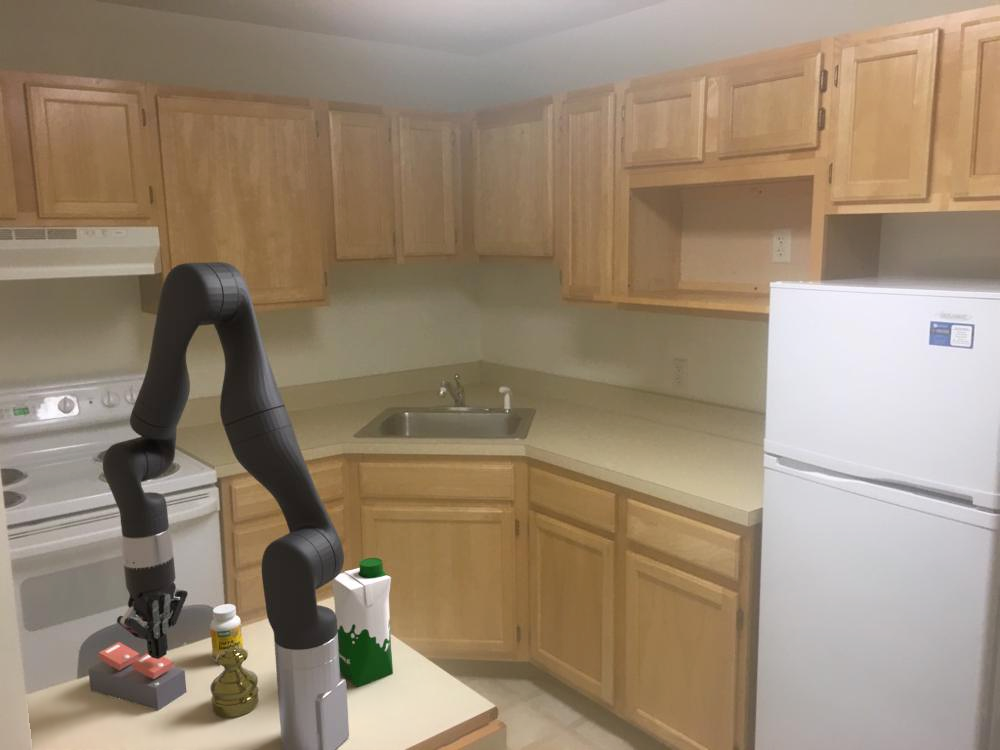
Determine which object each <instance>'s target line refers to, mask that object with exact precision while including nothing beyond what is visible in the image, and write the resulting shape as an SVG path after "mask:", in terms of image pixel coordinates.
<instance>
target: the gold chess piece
mask: <svg viewBox="0 0 1000 750" xmlns="http://www.w3.org/2000/svg"><path fill="white" fill-rule="evenodd" d="M248 652H249V651H248V650H247V649H245V648H244V647H243V648H237V647H230V648H228V649H226V650H224V651H222V652H221V653H219V654H218V655H217V657H216V662H215V663H217V664H218V665H219V666H221V667H223V671H222V672H220V673H219V675H218V676H216V677H215V678H214V679H213V680H212V682H211V684H210V692H211V699H210V700H211V705H212V706H211V707H212V712H213V713H214V715H216V716H217V717H220V718H235V717H236V718H237V717H240V716H243V715H246V714H248V713H250V712H251V711H253V710H254V709H255V708H257V706H258V704H259V703H260V702H259V700H260V699H259V696H260V695H259V690H260V689H259V687H258V676H257V674H256V673H255V672H254V671H252V670H249V669H247V668H246V667H244V666H243V663H244V662H245V661H246V660H247V658H248V656H249V653H248Z"/></svg>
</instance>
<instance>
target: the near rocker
mask: <svg viewBox="0 0 1000 750" xmlns="http://www.w3.org/2000/svg"><path fill="white" fill-rule="evenodd" d="M173 667H174V661H173V660H171V659H169V658H168V657H165V656H163V657H161V658H160V659H156V658H152V657H151V656H149V654H148V652H147V653H145V654H143V655H141V656H139V658H138V659H137V660H135V661H133V662H132V668H133V669H135V670H136V671H138V672H140V673H142V674H143V676H145V677H146V676H148V677H150V678H152V679H155V678H157V677H158V676H160V675H162V674H163V673H165V672H167V671H168V670H170V669H171V668H173Z"/></svg>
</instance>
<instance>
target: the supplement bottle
mask: <svg viewBox="0 0 1000 750" xmlns="http://www.w3.org/2000/svg"><path fill="white" fill-rule="evenodd" d="M212 618H213V619H212V621H210V625H209V626H210V638H211V647H212V649H211V651H212V658H213V661H214V662H215V663H217V662H216V657H217V655H218V654H219V653H221V652H222V651H224V650H226V649H228V648H230V647H237V648H243V649H244V643H243V633H242V631H243V630H242V621H241V618H240V616H238V615H237V607H236V606H235V604H231V603H226V604H219V605H218V606H216V607H214V608H213V609H212Z"/></svg>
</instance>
